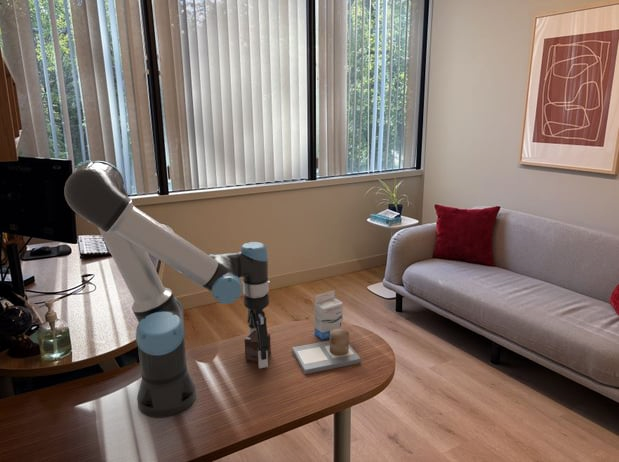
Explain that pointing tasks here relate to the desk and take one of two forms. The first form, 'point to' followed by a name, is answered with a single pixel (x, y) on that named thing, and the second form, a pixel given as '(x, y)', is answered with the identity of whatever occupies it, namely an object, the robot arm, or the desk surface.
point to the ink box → (327, 314)
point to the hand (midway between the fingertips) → (258, 356)
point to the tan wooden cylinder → (339, 342)
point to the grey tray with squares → (322, 357)
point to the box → (254, 347)
